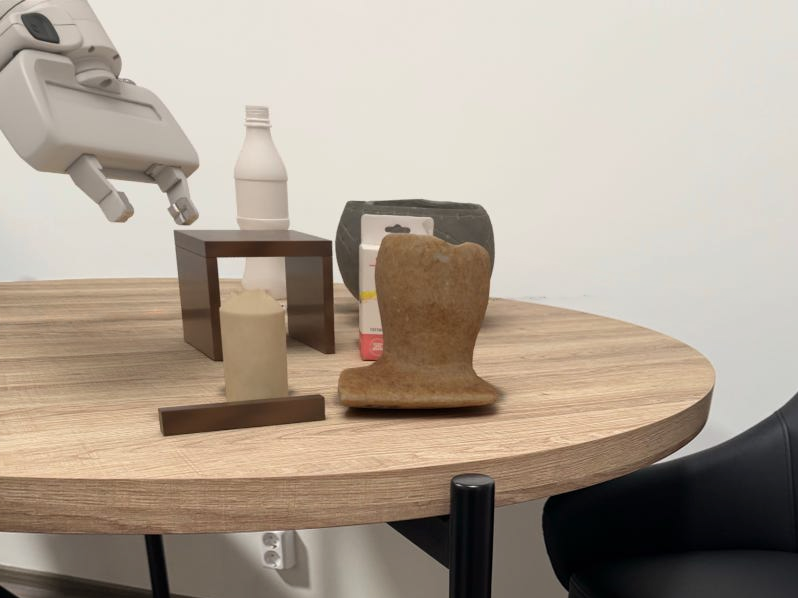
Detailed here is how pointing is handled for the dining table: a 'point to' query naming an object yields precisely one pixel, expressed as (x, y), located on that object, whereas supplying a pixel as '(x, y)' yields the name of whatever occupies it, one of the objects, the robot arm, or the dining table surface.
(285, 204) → the water bottle
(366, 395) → the tan flared-base block
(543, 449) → the dining table surface
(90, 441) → the dining table surface
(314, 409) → the rail
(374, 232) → the ink cartridge box
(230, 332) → the candle
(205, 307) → the shelf unit
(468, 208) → the bowl
